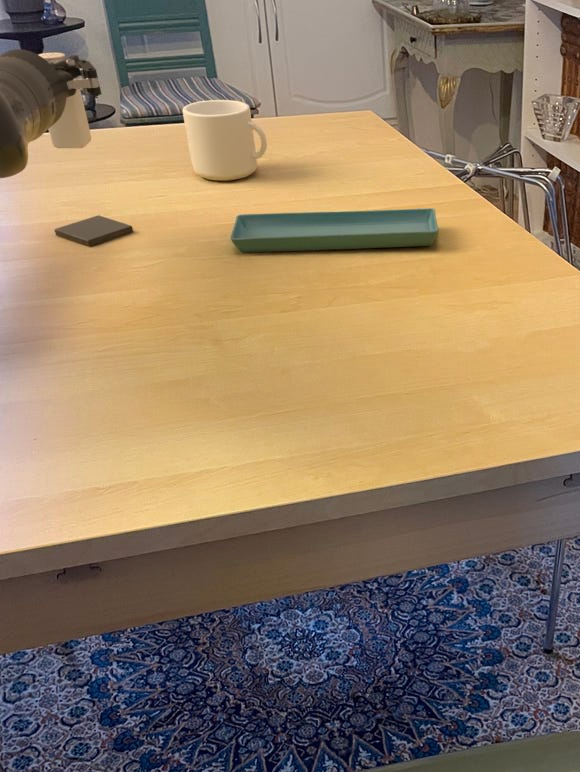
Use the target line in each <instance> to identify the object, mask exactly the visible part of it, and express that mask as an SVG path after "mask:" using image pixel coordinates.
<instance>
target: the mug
mask: <svg viewBox="0 0 580 772" xmlns="http://www.w3.org/2000/svg"><path fill="white" fill-rule="evenodd" d="M182 116H183V122H184V127H185V133H186V138H187V145H188V149H189V157H190V161H191V166H192V170H193V171H194V172H195V174H196V175H198V176H199V177H200V178H201V177H202V178H204V179H206V180H211V181H219V182H220V181H225V182H226V181H236V180H240V179H244V178H246V177H248V176H251V175H253V173H255V172H256V170H257V168H258V159H260V158H262V157H263V156H264V155H265V153H266V151H267V148H268V140H267V136H266V134H265V132H264V131H263V129H262V128H261V126H259V124H257V123H255V122H254V121H252V120H253V119H252V114H251V107H250V105H249V104H247V103H246V102H244V101H243V102H242V101H239V100H232V99H210V100H209V99H207V100H202V101H201V100H200V101H195V102H191V103H189V104H186V105H185V106H183V108H182ZM254 131H255V132H256V133H257V135H258V136H259V138H260V142H261V144H260V149H259V150H258V151H256V142H255V136H254Z"/></svg>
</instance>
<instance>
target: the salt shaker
mask: <svg viewBox="0 0 580 772" xmlns="http://www.w3.org/2000/svg"><path fill="white" fill-rule="evenodd" d="M38 55H39V56H41V57H42V58H44V59H45V60H46V61H47V62H49V61H51V60H53V59H59V60H66V59H67V58H66V53H63V52H44V53H39V54H38ZM47 131H48V133H49V137H50V141H51V144H52V146H53V147H54V148H56V149H83V148H85V147H87V145H89V144H90V143H91V141H92V134H91V130H90V125H89V120H88V117H87V112H86V108H85V104H84V100H83V95H82V91H81V89H76V93H75V94H74V95H73V96H70V97H67V99H66V104H65V108H64V111H63V114H62V116H61V117H60V118H59V120H58V121H57V122H56V123H55V124H53V125H52V126H51V127H50V128H49V129H48V130H47Z"/></svg>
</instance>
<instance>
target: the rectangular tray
mask: <svg viewBox="0 0 580 772" xmlns="http://www.w3.org/2000/svg"><path fill="white" fill-rule="evenodd" d="M438 233H439V225H438V221H437V216H436V208H433V207H432V208H431V207H430V208H427V207H426V208H407V209H403V208H402V209H379V210H378V209H377V210H347V211H345V210H344V211H310V212H309V211H307V212H305V211H303V212H274V213H272V212H271V213H247V214H245V213H243V214H237V215H236V216H235V222H234V225H233V228H232V231H231V235H230V240H231V242H232V243H233V244H234V246H235V247H236V248H237V249H238V251H239V252H240V253H270V252H271V253H272V252H300V251H301V252H303V251H306V252H307V251H324V250H325V251H329V250H359V249H377V248H379V249H380V248H403V247H404V248H405V247H429V246H432V245H433V244H434V242H435V239H437V235H438Z"/></svg>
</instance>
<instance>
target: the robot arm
mask: <svg viewBox="0 0 580 772" xmlns="http://www.w3.org/2000/svg"><path fill="white" fill-rule="evenodd" d="M76 89H80V90H81V89H83V90H84V91H83V92H84V93H85V94H89V95H91V96H93V97H99V96H101V95H102V90H101V89H102V88H101V85H100V80H99V77H98V72H97V69H96V68H95V67H94V65H93V64H92V63H91V62H90V61H89V60H86V59H81V58H80V57H79V55H78V54H71V55H69V56H68V57H67V58H66V60H59V59H53V60H51V61H49V62H47V61H46V60H45V59H44V58H42V57H41V56H39V54H37V53H35V52H33V51H30V50H28V49H27V50H26V49H22V48H20V49H19V48H16V49H15V48H14V49H10V50H7V51H5V52H3V53H1V54H0V179H6V178H11V177H13V176H16V175H18V174H20V173H22V172H23V171H24V170H25V169H26V168H27V166H28V162H29V148H28V147H29V144H30V143H31V142H34V141H36V140H37V139H39V138H40V137H42V136H43V135H44V134H45V133H46V132H47V131H49V130H48V129H49V128H50V127H51V126H52V125H53V124H55V123H56V122H57V121H58V120H59V118H60V117H61V116H62V114H63V111H64V108H65V104H66V99H67V97H70V96H73V95H74V94H75V93H76Z"/></svg>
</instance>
